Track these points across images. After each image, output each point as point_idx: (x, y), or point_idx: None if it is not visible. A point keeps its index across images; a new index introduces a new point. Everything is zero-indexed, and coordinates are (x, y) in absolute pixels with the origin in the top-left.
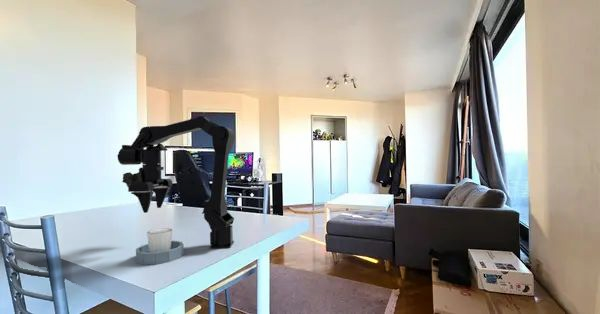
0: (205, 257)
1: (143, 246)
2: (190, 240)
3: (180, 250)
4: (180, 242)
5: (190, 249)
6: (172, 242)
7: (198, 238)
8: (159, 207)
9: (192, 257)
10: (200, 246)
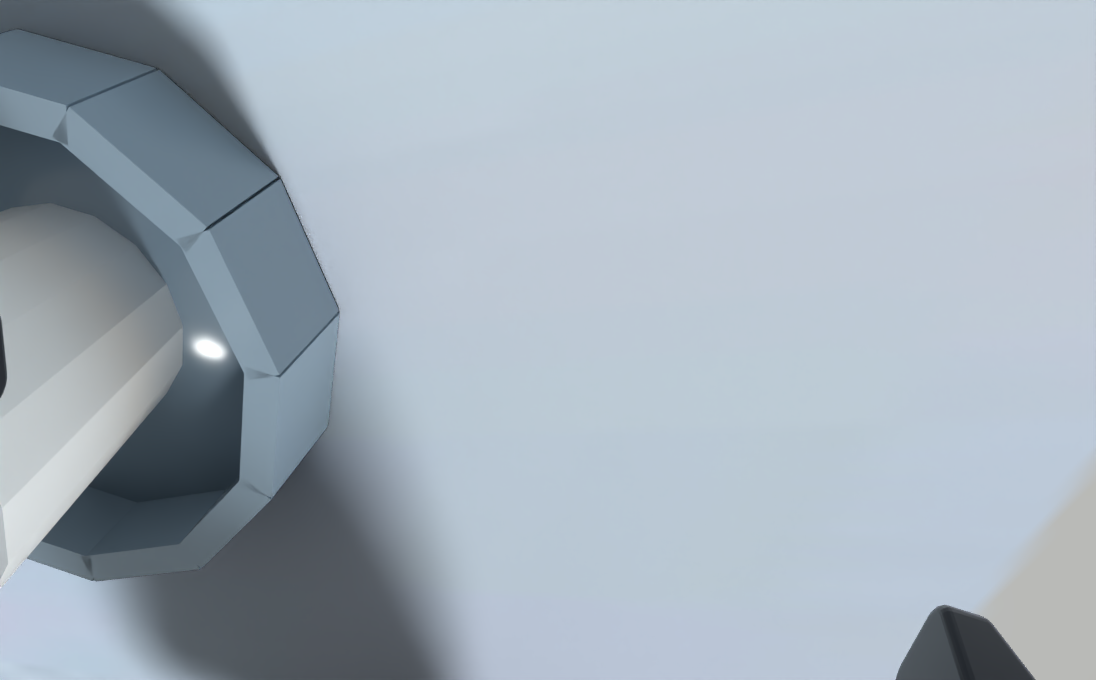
0: (69, 654)
1: (45, 133)
2: (740, 590)
3: None
4: (175, 556)
5: (322, 569)
6: (246, 466)
7: (810, 677)
8: (909, 668)
9: None
10: (415, 657)
